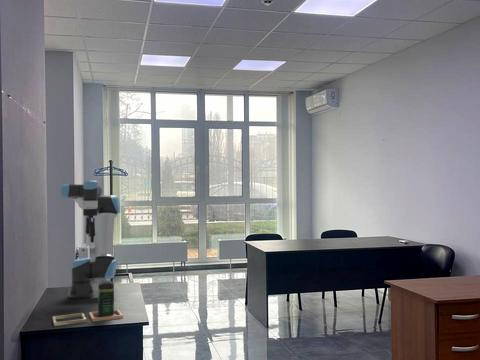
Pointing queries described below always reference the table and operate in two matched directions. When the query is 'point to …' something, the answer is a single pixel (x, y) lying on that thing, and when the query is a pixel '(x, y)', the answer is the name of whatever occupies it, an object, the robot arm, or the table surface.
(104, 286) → the coffee jar
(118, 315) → the frame
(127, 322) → the table surface
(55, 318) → the frame
